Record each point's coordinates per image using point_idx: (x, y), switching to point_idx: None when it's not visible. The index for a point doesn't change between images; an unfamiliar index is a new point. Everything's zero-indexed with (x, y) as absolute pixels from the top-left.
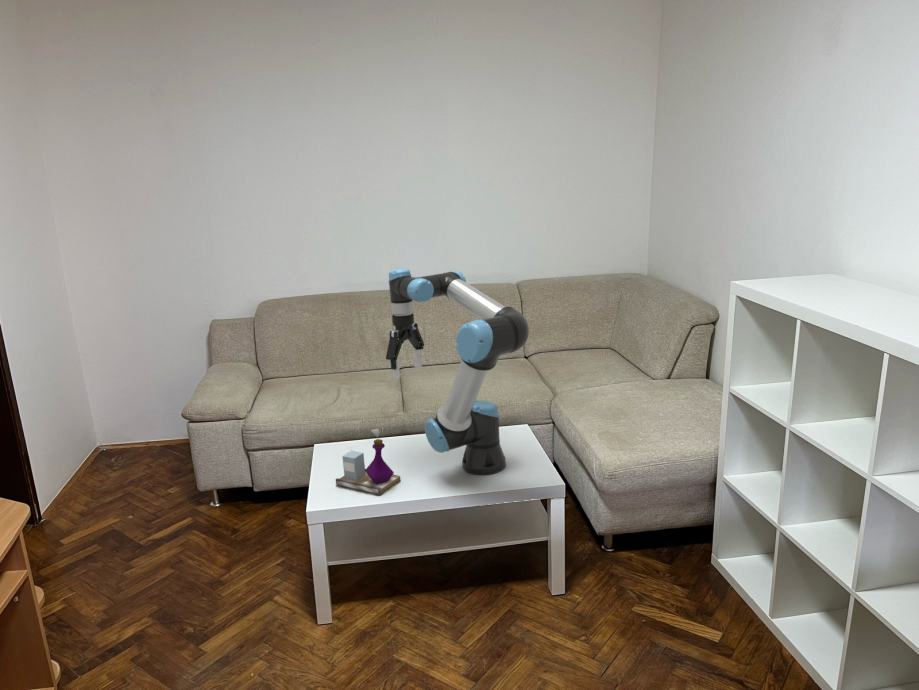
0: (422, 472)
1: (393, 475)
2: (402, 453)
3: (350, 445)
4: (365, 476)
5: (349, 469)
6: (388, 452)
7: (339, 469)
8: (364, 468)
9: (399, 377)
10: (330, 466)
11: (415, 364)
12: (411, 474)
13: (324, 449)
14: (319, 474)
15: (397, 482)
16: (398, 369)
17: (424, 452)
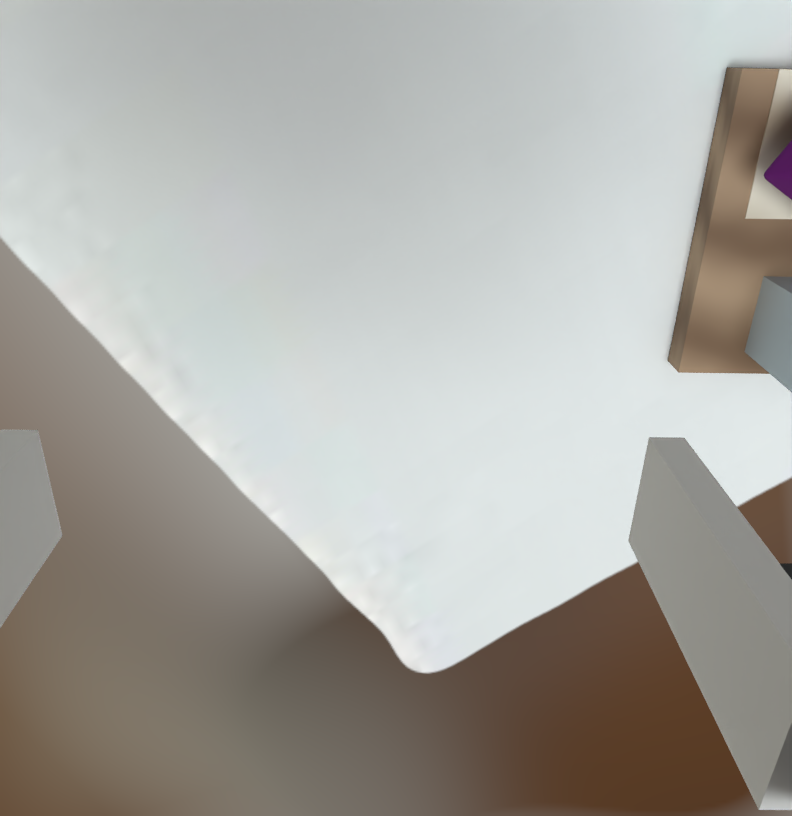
0: (575, 6)
1: (743, 114)
2: (373, 287)
3: (389, 573)
4: (784, 263)
5: None
6: (391, 364)
7: None
8: (786, 288)
9: (670, 441)
10: None
11: (38, 540)
12: (620, 60)
13: (472, 639)
14: None
15: (760, 68)
16: (735, 525)
17: (308, 171)
